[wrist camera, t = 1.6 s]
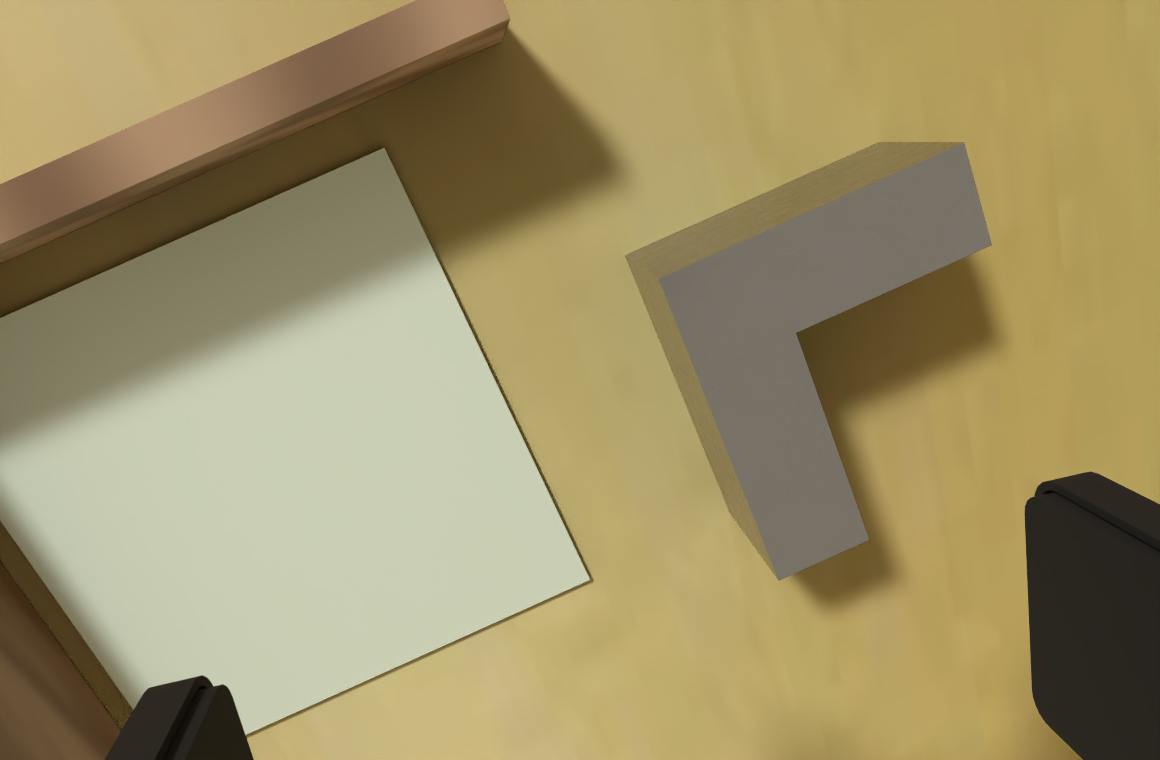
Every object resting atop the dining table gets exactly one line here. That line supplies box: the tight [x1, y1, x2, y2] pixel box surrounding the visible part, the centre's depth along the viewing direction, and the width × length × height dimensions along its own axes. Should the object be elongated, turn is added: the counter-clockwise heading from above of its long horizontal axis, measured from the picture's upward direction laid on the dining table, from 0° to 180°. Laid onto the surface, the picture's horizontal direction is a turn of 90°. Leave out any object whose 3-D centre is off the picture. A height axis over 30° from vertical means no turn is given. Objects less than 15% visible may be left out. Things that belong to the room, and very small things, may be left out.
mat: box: [0, 148, 590, 735], centre depth 28 cm, size 16×16×1 cm
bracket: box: [625, 142, 992, 580], centre depth 27 cm, size 10×9×5 cm
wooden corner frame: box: [0, 0, 510, 760], centre depth 26 cm, size 23×20×5 cm
